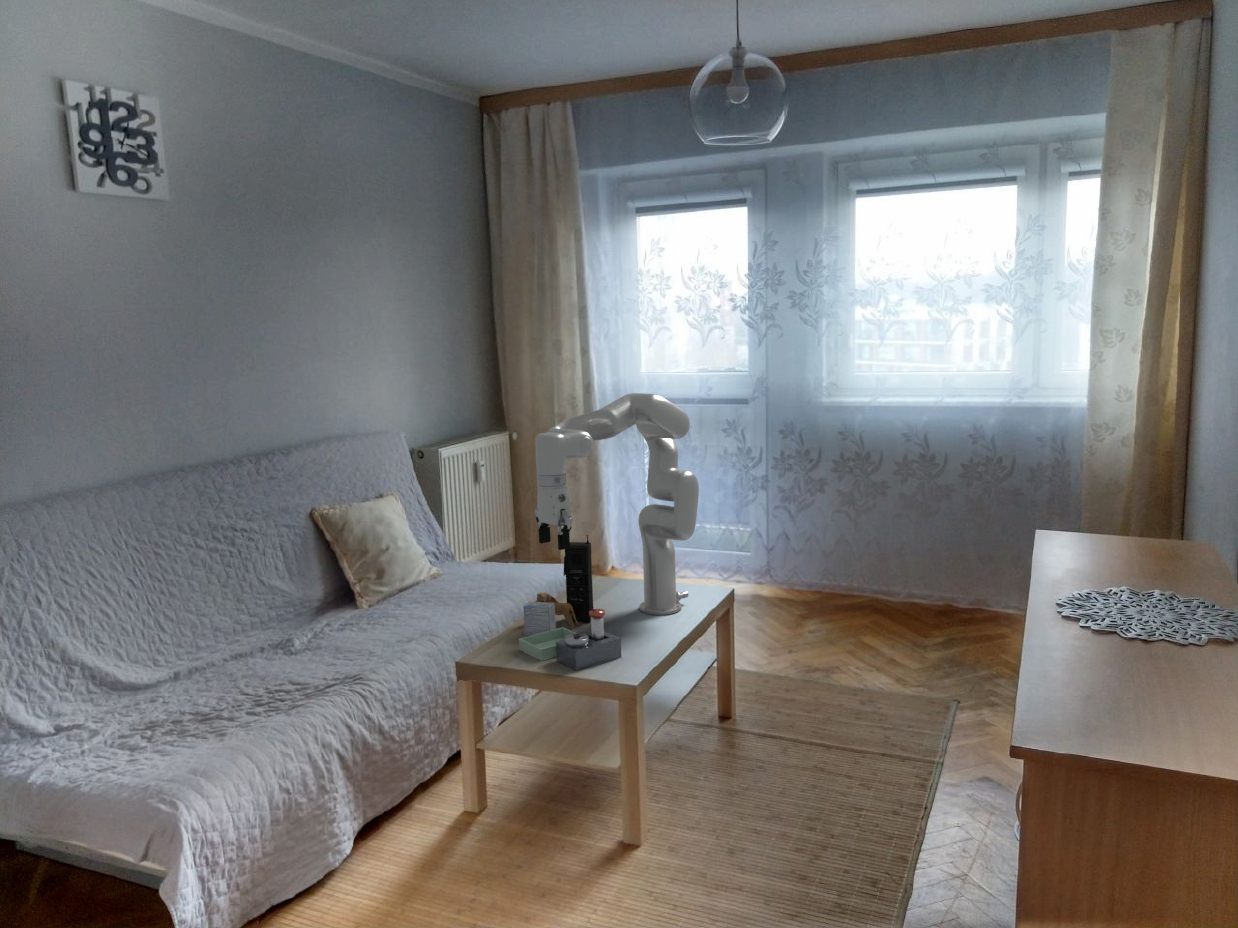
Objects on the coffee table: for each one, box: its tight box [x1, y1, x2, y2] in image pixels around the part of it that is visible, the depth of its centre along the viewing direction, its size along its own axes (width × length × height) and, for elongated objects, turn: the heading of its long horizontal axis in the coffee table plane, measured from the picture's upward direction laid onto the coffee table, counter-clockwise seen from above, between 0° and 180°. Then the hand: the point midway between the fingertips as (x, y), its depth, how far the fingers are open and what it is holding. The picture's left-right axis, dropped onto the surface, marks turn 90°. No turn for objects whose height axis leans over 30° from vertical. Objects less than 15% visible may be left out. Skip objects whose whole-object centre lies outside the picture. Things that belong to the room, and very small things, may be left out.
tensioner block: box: [555, 630, 622, 671], centre depth 232 cm, size 14×9×7 cm, turn 127°
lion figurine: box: [534, 591, 583, 630], centre depth 261 cm, size 15×5×9 cm, turn 65°
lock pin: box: [589, 608, 606, 641], centre depth 234 cm, size 4×4×12 cm
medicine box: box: [522, 601, 557, 637], centre depth 253 cm, size 8×4×9 cm, turn 74°
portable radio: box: [563, 534, 595, 624], centre depth 263 cm, size 8×6×25 cm
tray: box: [518, 627, 577, 662], centre depth 241 cm, size 14×11×3 cm
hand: (554, 545), depth 237 cm, fingers open, 9 cm apart
